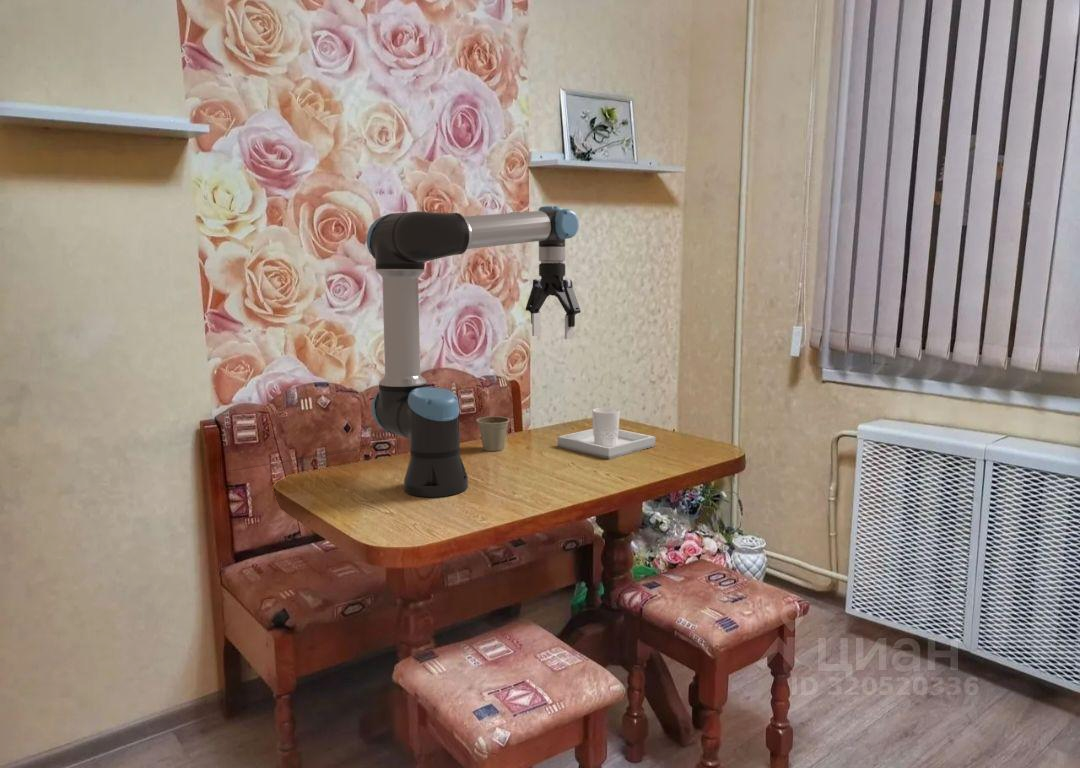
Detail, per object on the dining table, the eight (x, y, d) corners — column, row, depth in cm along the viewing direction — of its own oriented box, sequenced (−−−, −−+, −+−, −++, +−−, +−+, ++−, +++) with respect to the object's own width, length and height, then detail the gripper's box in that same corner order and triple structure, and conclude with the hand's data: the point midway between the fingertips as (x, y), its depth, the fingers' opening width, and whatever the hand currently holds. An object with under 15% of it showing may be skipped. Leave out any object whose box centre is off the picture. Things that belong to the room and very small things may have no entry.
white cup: (606, 448, 211) (606, 414, 209) (586, 444, 216) (586, 410, 215) (625, 444, 216) (625, 410, 214) (604, 439, 222) (605, 406, 220)
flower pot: (509, 453, 210) (508, 423, 209) (475, 453, 210) (475, 423, 209) (511, 445, 219) (510, 416, 218) (479, 445, 220) (478, 416, 218)
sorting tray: (608, 459, 202) (608, 448, 202) (557, 446, 217) (557, 436, 217) (655, 446, 216) (655, 436, 215) (604, 435, 230) (604, 426, 230)
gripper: (593, 262, 205) (593, 339, 208) (532, 262, 223) (532, 333, 226) (574, 262, 200) (574, 341, 203) (513, 262, 218) (514, 335, 221)
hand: (552, 337), depth 215 cm, fingers open, 13 cm apart
